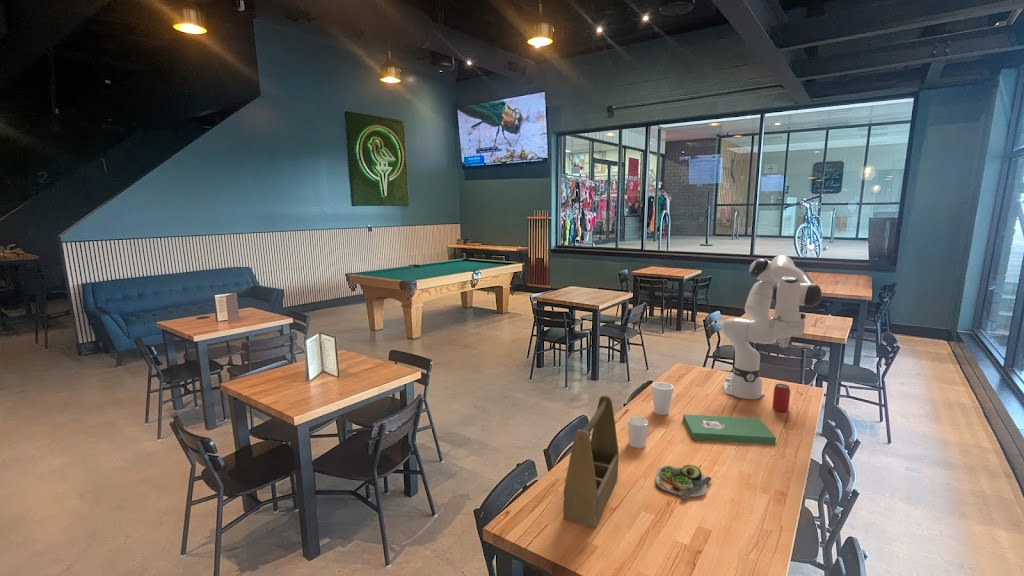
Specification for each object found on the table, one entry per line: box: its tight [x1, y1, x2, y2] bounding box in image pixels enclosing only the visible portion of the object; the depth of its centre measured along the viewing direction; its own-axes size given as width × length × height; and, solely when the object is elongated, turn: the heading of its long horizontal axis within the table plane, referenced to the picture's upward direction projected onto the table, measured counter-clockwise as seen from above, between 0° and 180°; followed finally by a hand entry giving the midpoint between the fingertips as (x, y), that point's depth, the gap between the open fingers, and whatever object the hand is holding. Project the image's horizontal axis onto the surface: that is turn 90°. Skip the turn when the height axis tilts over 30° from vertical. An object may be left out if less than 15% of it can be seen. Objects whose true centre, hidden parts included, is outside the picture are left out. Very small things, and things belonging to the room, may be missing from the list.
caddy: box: [562, 395, 620, 529], centre depth 152 cm, size 29×11×30 cm, turn 155°
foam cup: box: [651, 381, 674, 416], centre depth 220 cm, size 10×9×13 cm
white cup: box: [627, 416, 649, 449], centre depth 190 cm, size 8×8×10 cm
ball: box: [709, 422, 719, 427], centre depth 201 cm, size 4×4×4 cm
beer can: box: [772, 383, 791, 413], centre depth 222 cm, size 7×7×12 cm
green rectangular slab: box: [682, 413, 777, 445], centre depth 201 cm, size 18×32×3 cm, turn 82°
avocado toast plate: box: [655, 464, 712, 500], centre depth 161 cm, size 19×18×5 cm
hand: (783, 346), depth 203 cm, fingers closed
